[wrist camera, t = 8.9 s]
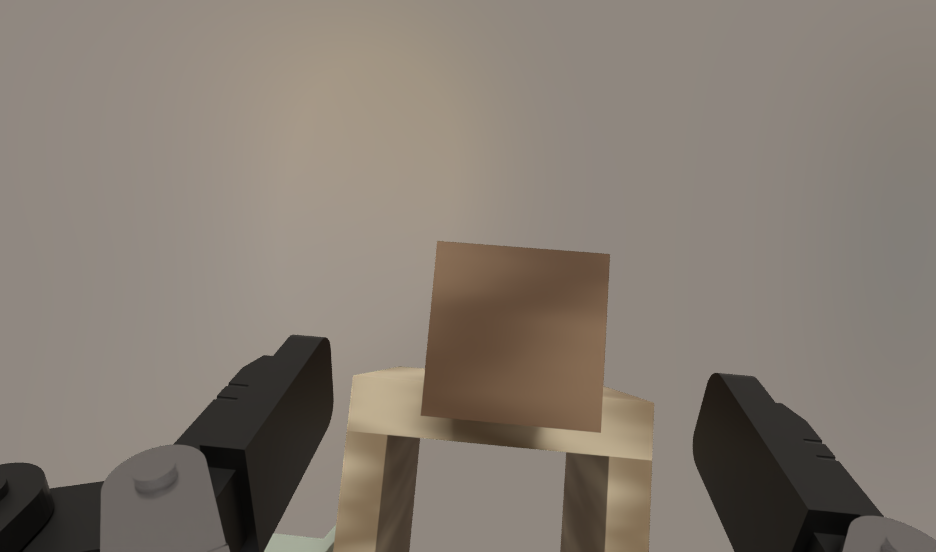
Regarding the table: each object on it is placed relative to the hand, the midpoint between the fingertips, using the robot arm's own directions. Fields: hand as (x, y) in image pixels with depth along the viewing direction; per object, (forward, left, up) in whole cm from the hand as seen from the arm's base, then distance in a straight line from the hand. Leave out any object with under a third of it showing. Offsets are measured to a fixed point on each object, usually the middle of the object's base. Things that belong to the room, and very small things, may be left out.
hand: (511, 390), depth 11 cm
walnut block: (0, -11, -1) cm, 11 cm away
